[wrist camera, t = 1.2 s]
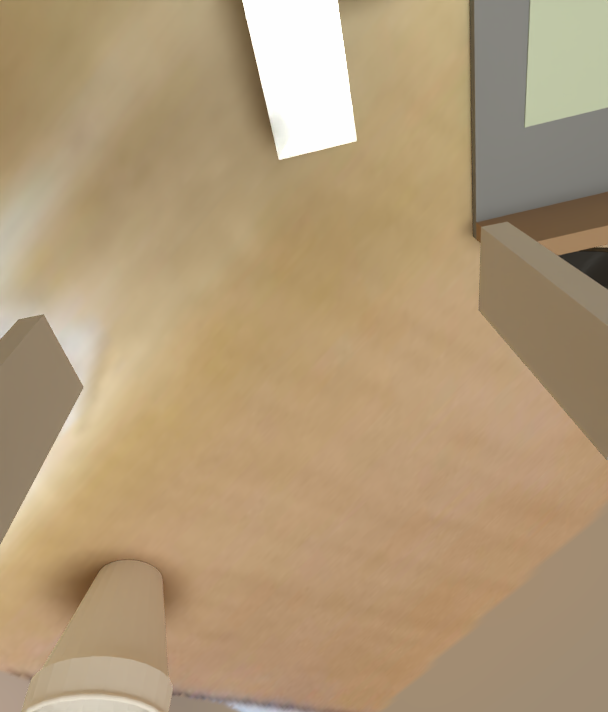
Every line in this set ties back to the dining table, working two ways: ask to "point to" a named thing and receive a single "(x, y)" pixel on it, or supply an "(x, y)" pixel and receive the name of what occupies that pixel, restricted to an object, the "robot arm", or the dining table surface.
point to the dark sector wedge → (590, 263)
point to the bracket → (302, 73)
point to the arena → (541, 119)
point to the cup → (110, 648)
